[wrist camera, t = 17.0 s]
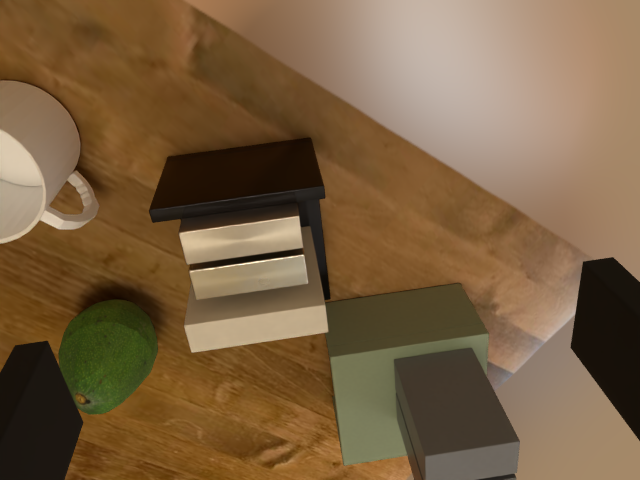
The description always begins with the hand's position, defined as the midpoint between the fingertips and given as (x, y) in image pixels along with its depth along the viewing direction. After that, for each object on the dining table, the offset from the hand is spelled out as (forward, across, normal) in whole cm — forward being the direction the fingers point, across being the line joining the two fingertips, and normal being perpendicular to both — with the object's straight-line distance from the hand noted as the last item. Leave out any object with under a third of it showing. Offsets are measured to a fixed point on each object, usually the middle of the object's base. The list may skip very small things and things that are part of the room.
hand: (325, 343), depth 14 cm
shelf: (+35, +8, -31) cm, 47 cm away
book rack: (+35, -4, -15) cm, 38 cm away
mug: (+35, -20, -5) cm, 41 cm away
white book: (+34, -4, -16) cm, 38 cm away
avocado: (+35, -18, -22) cm, 45 cm away
